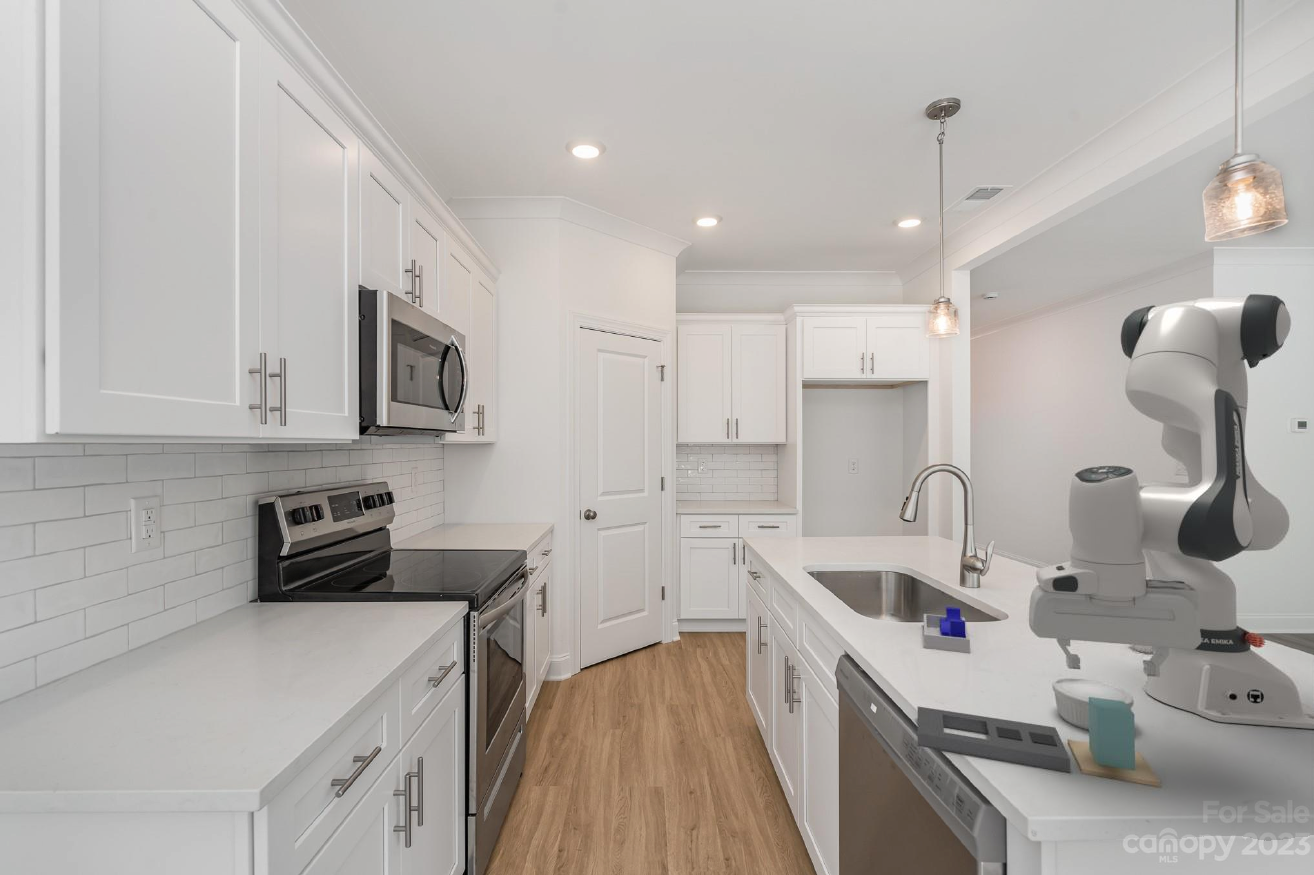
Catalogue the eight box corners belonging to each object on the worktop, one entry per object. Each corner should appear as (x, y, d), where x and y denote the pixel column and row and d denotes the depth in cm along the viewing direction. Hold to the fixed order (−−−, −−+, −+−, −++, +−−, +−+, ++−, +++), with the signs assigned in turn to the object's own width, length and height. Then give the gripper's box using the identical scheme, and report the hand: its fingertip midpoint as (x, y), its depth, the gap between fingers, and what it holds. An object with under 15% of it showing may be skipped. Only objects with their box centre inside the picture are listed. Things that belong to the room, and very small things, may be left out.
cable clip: (939, 630, 149) (939, 606, 149) (959, 632, 148) (959, 607, 148) (943, 646, 138) (943, 620, 138) (965, 648, 137) (965, 622, 137)
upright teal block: (1125, 755, 89) (1124, 701, 89) (1135, 770, 85) (1134, 714, 85) (1089, 749, 91) (1088, 696, 91) (1097, 764, 87) (1096, 709, 87)
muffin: (1162, 649, 134) (1161, 618, 134) (1162, 657, 129) (1162, 625, 129) (1126, 643, 138) (1126, 613, 138) (1125, 651, 133) (1125, 619, 133)
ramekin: (1083, 702, 109) (1082, 672, 109) (1151, 730, 98) (1150, 698, 98) (1036, 712, 105) (1036, 681, 105) (1102, 742, 94) (1102, 709, 94)
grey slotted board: (1055, 740, 95) (1055, 726, 95) (1070, 772, 86) (1069, 758, 86) (917, 718, 103) (917, 705, 103) (917, 745, 94) (917, 732, 94)
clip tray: (964, 629, 149) (964, 617, 149) (969, 653, 133) (969, 639, 133) (923, 625, 153) (923, 613, 153) (924, 647, 137) (924, 634, 137)
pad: (1138, 754, 90) (1138, 750, 90) (1160, 787, 82) (1160, 782, 82) (1067, 743, 94) (1067, 739, 94) (1081, 773, 86) (1081, 768, 86)
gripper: (1188, 576, 87) (1192, 671, 87) (1024, 569, 95) (1028, 656, 95) (1207, 587, 81) (1212, 689, 81) (1031, 579, 89) (1035, 671, 90)
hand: (1111, 671), depth 88 cm, fingers open, 8 cm apart
